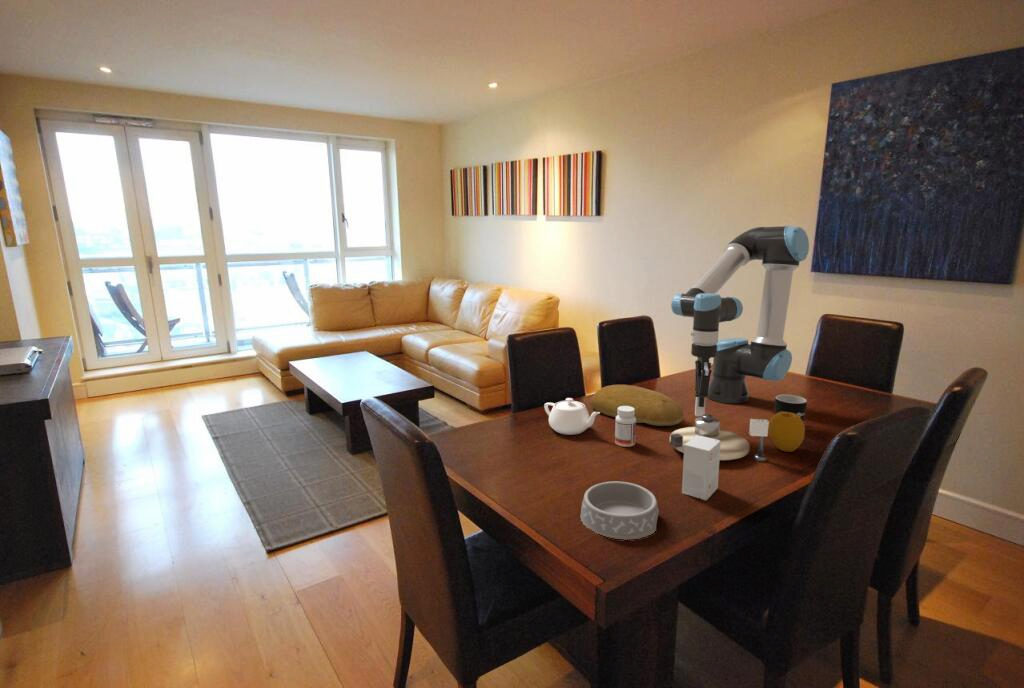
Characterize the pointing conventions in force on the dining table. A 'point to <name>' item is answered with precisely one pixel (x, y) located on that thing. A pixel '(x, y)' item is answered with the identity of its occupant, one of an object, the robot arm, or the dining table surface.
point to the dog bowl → (620, 510)
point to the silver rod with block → (759, 429)
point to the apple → (786, 431)
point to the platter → (730, 442)
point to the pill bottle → (625, 426)
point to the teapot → (569, 417)
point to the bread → (638, 404)
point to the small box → (701, 467)
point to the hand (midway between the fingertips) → (699, 415)
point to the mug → (791, 405)
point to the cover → (707, 426)
